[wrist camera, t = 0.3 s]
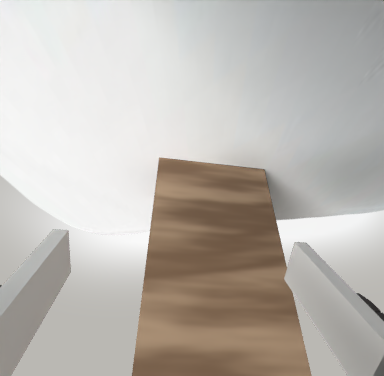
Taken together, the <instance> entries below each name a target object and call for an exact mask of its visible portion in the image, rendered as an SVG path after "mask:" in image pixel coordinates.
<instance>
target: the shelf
mask: <svg viewBox="0 0 384 376" xmlns="http://www.w3.org/2000/svg"><path fill="white" fill-rule="evenodd" d="M286 270H287V267H286V263H285V258H284V253H283V249H282V245H281V241H280V236H279V232H278V227H277V223H276V218H275V214H274V210H273V205H272V201H271V197H270V192H269V188H268V183H267V179H266V175H265V170H264V169H255V168H246V167H237V166H228V165H220V164H211V163H202V162H193V161H184V160H176V159H167V158H159V164H158V172H157V180H156V188H155V196H154V204H153V212H152V220H151V228H150V236H149V244H148V252H147V260H146V268H145V277H144V284H143V292H142V300H141V308H140V316H139V324H138V332H137V340H136V348H135V356H134V364H133V373H132V376H311V372H310V367H309V363H308V358H307V354H306V350H305V345H304V341H303V336H302V332H301V328H300V323H299V319H298V315H297V310H296V306H295V302H294V297H293V293H292V291H291V289H290V288H289V286H288V284H287V283H286V281H285V280H284V277H285V274H286Z"/></svg>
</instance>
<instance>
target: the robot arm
mask: <svg viewBox="0 0 384 376" xmlns="http://www.w3.org/2000/svg"><path fill="white" fill-rule="evenodd" d="M70 272H71V267H70V251H69V233H68V230H56V229H55V230H54V229H53V230H52V231H51V232H50V234H49V235H48V236H47V237H46V238H45V239H44V240H43V241H42V242H41V243H40V245H39V246H38V247H37V248H36V249H35V250H34V251H33V252H32V253H31V254H30V256H29V257H28V258H27V259H26V260H25V261H24V262H23V263H22V264H21V266H20V267H19V268H18V269H17V270H16V271H15V272H14V273H13V274H12V275H11V277H10V278H9V279H8V280H7V281H6V282H5V283H4V284H3V285H0V376H11V375H12V373H13V371H14V370H15V368H16V366H17V365H18V363H19V361H20V359H21V358H22V356H23V354H24V352H25V351H26V349H27V347H28V345H29V344H30V342H31V340H32V339H33V336H34V335H35V333H36V332H37V329H38V328H39V326H40V325H41V323H42V321H43V319H44V318H45V316H46V314H47V313H48V311H49V309H50V307H51V306H52V304H53V302H54V300H55V299H56V297H57V295H58V293H59V292H60V290H61V288H62V287H63V285H64V283H65V281H66V280H67V278H68V276H69V274H70ZM284 280H285V281H286V283H287V284H288V286H289V288H290V289H291V291H292V292H293V294H294V295H295V297H296V298H297V300H298V301H299V303H300V304H301V306H302V307H303V309H304V310H305V312H306V313H307V315H308V317H309V318H310V320H311V321H312V323H313V324H314V326H315V327H316V329H317V330H318V332H319V333H320V335H321V336H322V338H323V339H324V341H325V342H326V344H327V346H328V347H329V349H330V350H331V352H332V353H333V355H334V356H335V358H336V359H337V361H338V362H339V364H340V365H341V367H342V368H343V370H344V371H345V373H346V375H347V376H384V314H383V313H381V312H380V310H379V309H378V308H377V307H376V306H375V305H374V304H373V303H372V302H371V301H369V300H368V299H366V298H365V297H363V296H362V295H361V294H359V293H355V292H354V291H353V290H352V289H351V288H350V287H349V286H348V285H347V284H346V283H345V282H344V280H343V279H342V278H341V277H340V276H339V275H337V274H336V272H335V271H334V270H333V269H332V268H331V267H330V266H329V265H328V264H327V263H326V262H325V261H324V260H323V259H322V258H321V257H320V256H319V255H318V254H317V253H316V252H315V251H314V250H313V249H312V248H311V247H310V246H309V245H308V244H307V243H300V242H295V243H294V247H293V250H292V253H291V257H290V260H289V264H288V267H287V270H286V274H285V277H284Z"/></svg>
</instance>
